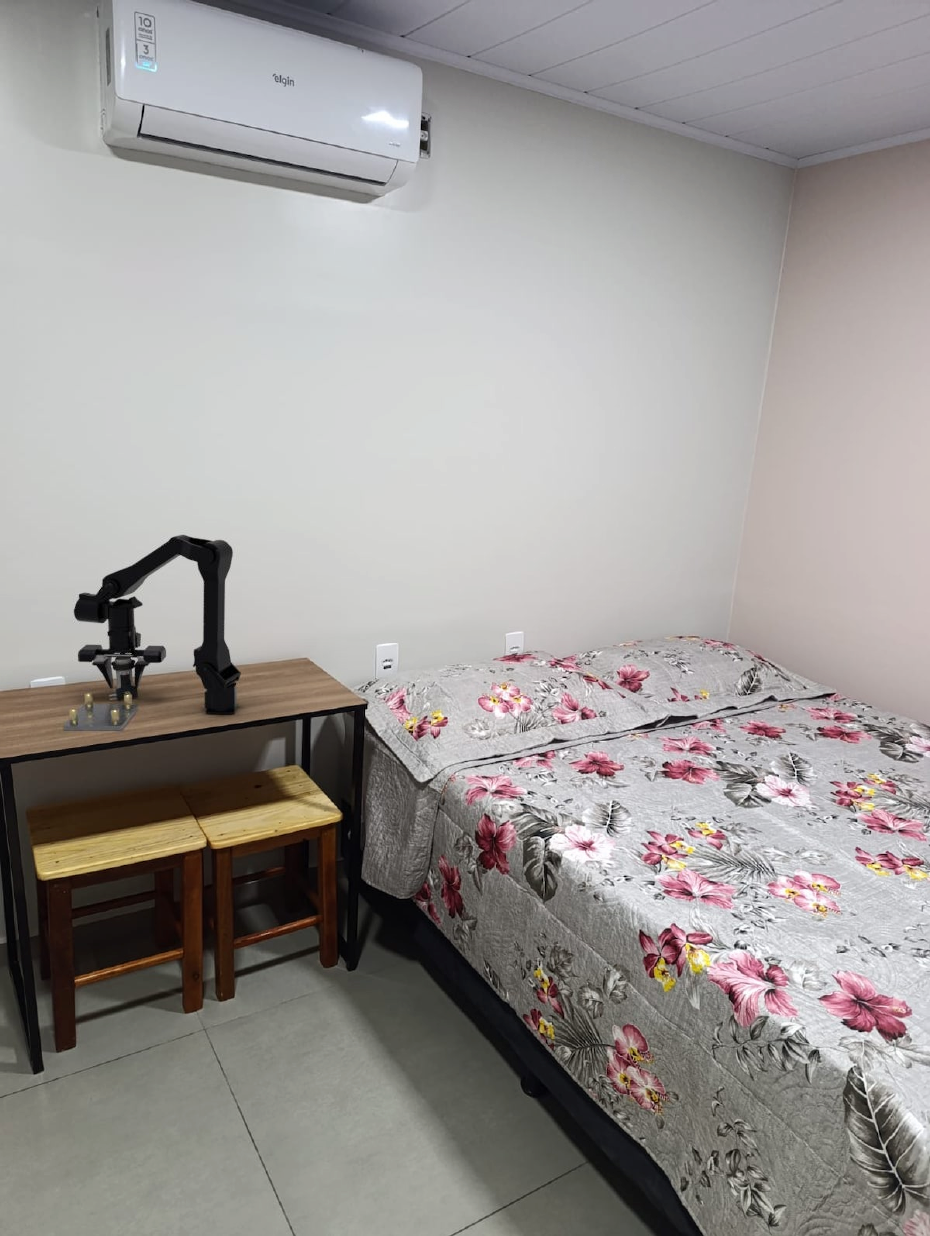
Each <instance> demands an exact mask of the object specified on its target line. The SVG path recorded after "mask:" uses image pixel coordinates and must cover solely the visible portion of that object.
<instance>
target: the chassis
mask: <svg viewBox="0 0 930 1236" xmlns="http://www.w3.org/2000/svg"><path fill="white" fill-rule="evenodd" d="M132 701H133V698H132V694H125V695H124V700H123V704H94V701H93V693H89V692H88V693H84V704H83V705H81V706H80V708H79V709H77V708H70V709H68V712H69V715H68V716H69V719H68V720H67V721H66V722H65V723H64V724H63V725H62V730H63V731H118V732H119V731H122V730H123V729H124V728H125V727H126V725H128V723H129V721H130V720H131V719H132V718H133V716H134V715H135V713H137V711H138V709H139V705H138V704H133V703H132Z"/></svg>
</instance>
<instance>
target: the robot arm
mask: <svg viewBox="0 0 930 1236" xmlns="http://www.w3.org/2000/svg"><path fill="white" fill-rule="evenodd" d="M233 551H234V550H233V548H232V546H231V544H229V543H228V542H227V541H225V540H223V539H215V540H210V539H205V538H199V537H198V538H197V537H192V536H189V535H186V534H179V535H175V536H172V537H170V538H169V540H168V541H166V542H165V543H163V544H161V546H159V547H158V548H156V549H155V550H153V551H152V552H150V553H148V554H147V555H145V556H144V557H142V558H141V559H139V560H138V561H136V562H135V563H133V564H131V565H129V566H127V567H125V568H122V569H119V570H116V571H114V572H112V573H109V574H107V575H105V576H104V577H102V580H101V582H102V583H101V584H102V585H101V586H100V588H99V590H98V591H97V592H96V594H95V593H90V592H82V593H79V594H78V600H76V603H75V606H74V608H73V615H74V618H75V619H76V620H77V621H78V622H82V623H83V622H85V623H93V624H104V623H105V622H107V625H108V626H107V627H108V631H107V637H108V644H109V645H108V647H109V648H105V649H104V648H103V646H102V644H85V645H84V646H83V647H82V648H80V649H79V650H78V653H77V661H78V662H79V663H91V665H92V666H96V668H97V669H98V671H100V673H101V674H102V677H103V678H104V679H105V681H106V683H107V685H108V687H109V689H110V690H111V689H112V690H113V688H114V678H113V676H114V675H113V670H112V669H113V667H112V665H111V663H112V658H116V657H127V658H131V659H133V658H134V659H135V658H136V659H137V661H135V664H134V665H135V668H134V686H135V689H137V690H138V689H139V686H140V682H141V679H142V676H143V674H144V670H145V668H146V667H149V665H150V664H160V663H162V662H163V661H164V660H165V659H166V657H167V649H166V647H165V646H164V645H148V646H147V647H146V648H145V649H138V648H140V647H141V637H142V634H141V633H139V632H137V629H136V625H135V609H137V608H139V607H142V606H143V605H144V604H143V602H142V601H140V600H139V599H138V598H137V597H136V596H135V595H134V596H131V597H129V598H122V597H125V596H129V595H131V594H133V593H135V592H136V591H137V590H138V589H140V587H141V586H142V585H143V584H144V582H145V580H146V579H148V577H149V576H151V575H152V574H154V573H155V572H158V571H159V570H160V569H161V568H163V567H165V566H166V565H167V564H169V563H170V562H172V561H173V560H175V559H176V558H178V557H179V556H182V557H183V558H185V559H186V560H189V561H193V562H196V563H197V569H198V572H199V574H200V577H201V578H202V580H203V607H202V608H203V613H202V614H203V615H202V616H203V618H202V619H203V621H202V623H203V626H202V627H203V629H202V632H203V633H202V634H203V635H202V638H203V640H202V644H201V645H200V646H198V647H196V648H195V649H193V657H194V658H193V659H194V660H193V664H192V667H193V668H195V673H196V676H199V678H200V681H201V682H202V685H203V688H204V689H205V690H204V709H205V714H207V715H208V714H209V715H210V714H211V715H212V714H213V715H234V714H236V710H237V709H238V706H239V703H238V702H237V682H238V681H239V680H240V678H241V675H242V672H241V671H240V670H239V669H238V668H237V667H236V665H234V664H233V662H232V660H231V659H232V658H231V653H230V648H229V647H228V645H227V643H226V641H225V616H226V614H225V610H226V609H225V607H226V606H225V605H226V604H225V603H226V579H227V576H228V574H229V572H230V569H231V567H232V566H231V565H232V560H233V553H234V552H233ZM112 599H113V600H115V601H111V600H112Z"/></svg>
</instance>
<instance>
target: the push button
mask: <svg viewBox="0 0 930 1236" xmlns="http://www.w3.org/2000/svg"><path fill="white" fill-rule="evenodd" d="M135 663H136V660H135V659H133V658H127V657H114V660H113V661H111V667H112V669H113V671H115V674H116V686H115V687H116V688H114V693H113V694H109V695H108V697H113V696H114V697H113V698H108V700H109V701H113V700H116V701H124V695H125V694H132V699H133V698H134V699H136V698H138V697H139V692H138V688H137V689H135V682H134V678H133V676H134V675H133V669H135Z"/></svg>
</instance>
